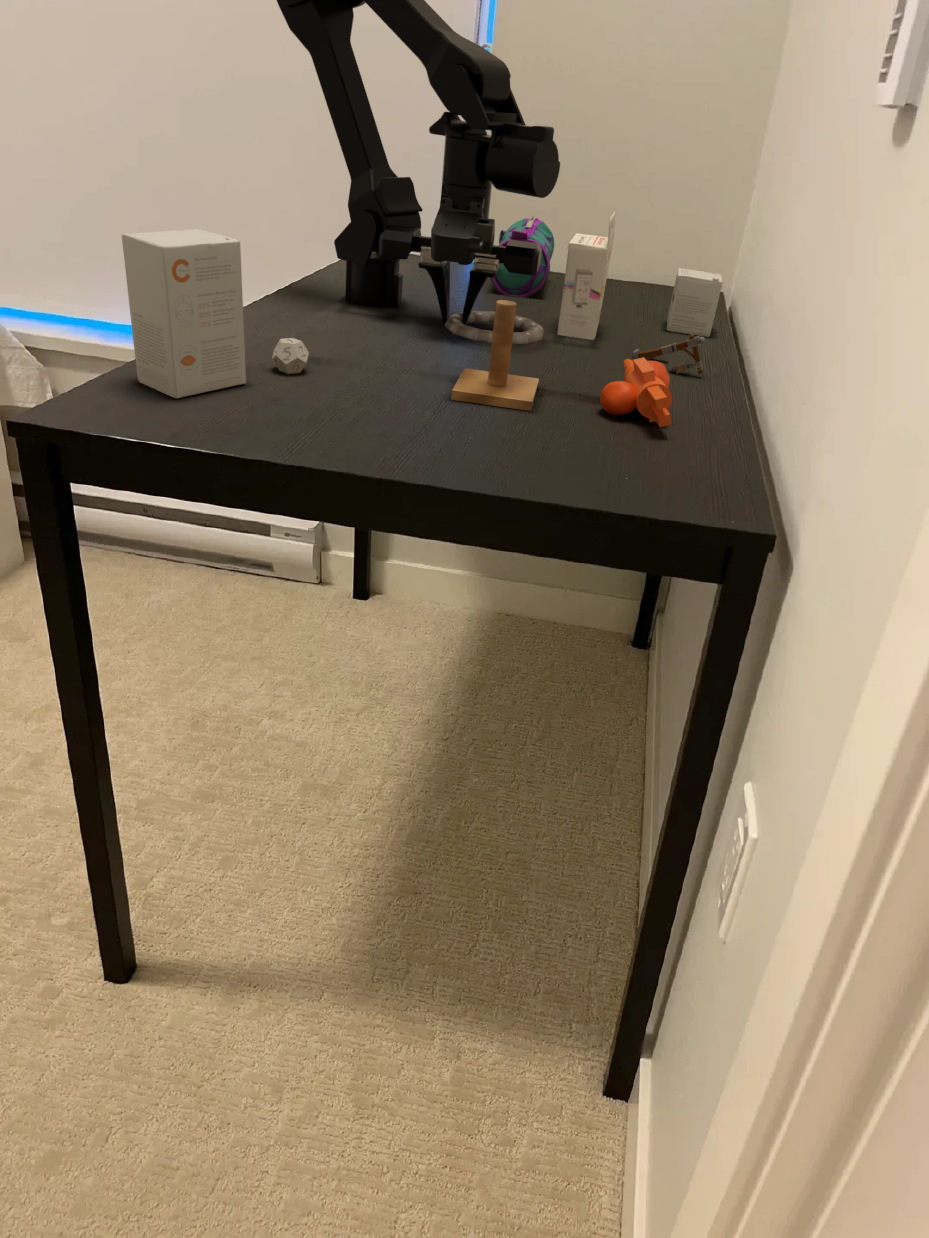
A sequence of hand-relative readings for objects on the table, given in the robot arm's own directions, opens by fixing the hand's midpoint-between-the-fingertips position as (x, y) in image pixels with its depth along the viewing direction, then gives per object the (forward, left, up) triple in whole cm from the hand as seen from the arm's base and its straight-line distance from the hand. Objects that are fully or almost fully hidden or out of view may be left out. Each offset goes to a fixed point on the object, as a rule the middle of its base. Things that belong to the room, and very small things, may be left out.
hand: (454, 324), depth 109 cm
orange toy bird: (+22, -23, -1) cm, 32 cm away
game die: (-13, -24, -1) cm, 27 cm away
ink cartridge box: (+15, +6, -1) cm, 16 cm away
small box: (-20, -32, -1) cm, 38 cm away
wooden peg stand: (+8, -22, -1) cm, 23 cm away
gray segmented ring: (+5, 0, 0) cm, 5 cm away
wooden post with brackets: (+26, -4, -1) cm, 26 cm away
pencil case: (+5, +31, -1) cm, 31 cm away
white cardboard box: (+30, +19, -1) cm, 36 cm away
